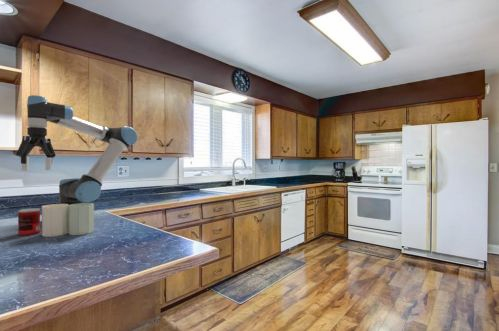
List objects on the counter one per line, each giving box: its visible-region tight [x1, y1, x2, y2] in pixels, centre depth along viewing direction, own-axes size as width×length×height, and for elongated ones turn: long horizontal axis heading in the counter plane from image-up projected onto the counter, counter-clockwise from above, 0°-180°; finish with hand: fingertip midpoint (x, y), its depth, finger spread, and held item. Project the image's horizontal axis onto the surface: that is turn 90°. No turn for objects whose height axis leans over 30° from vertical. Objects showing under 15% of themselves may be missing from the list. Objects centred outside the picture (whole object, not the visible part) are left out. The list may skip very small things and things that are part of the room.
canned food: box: [17, 207, 41, 237], centre depth 121 cm, size 8×8×11 cm
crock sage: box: [67, 202, 95, 236], centre depth 123 cm, size 10×10×13 cm
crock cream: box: [41, 203, 69, 238], centre depth 120 cm, size 10×10×13 cm
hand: (37, 170), depth 131 cm, fingers open, 13 cm apart
